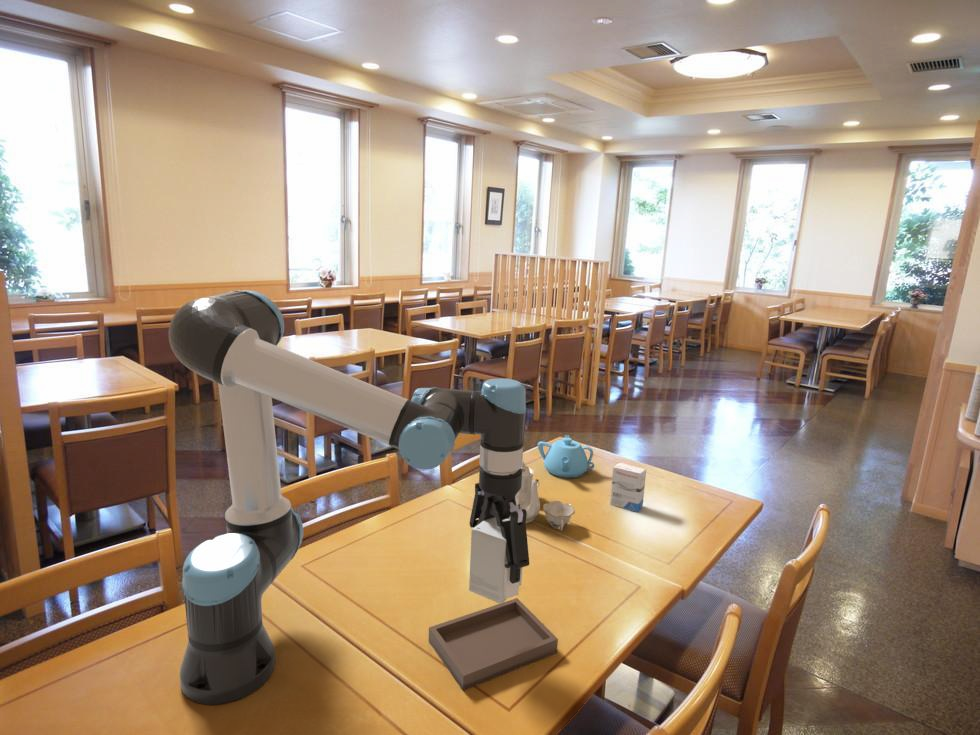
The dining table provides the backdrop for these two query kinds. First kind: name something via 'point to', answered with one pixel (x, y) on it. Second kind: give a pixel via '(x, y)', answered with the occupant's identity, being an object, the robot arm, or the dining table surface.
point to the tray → (491, 642)
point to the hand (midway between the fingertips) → (495, 580)
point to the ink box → (628, 487)
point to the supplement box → (488, 561)
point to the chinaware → (530, 502)
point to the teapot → (566, 458)
